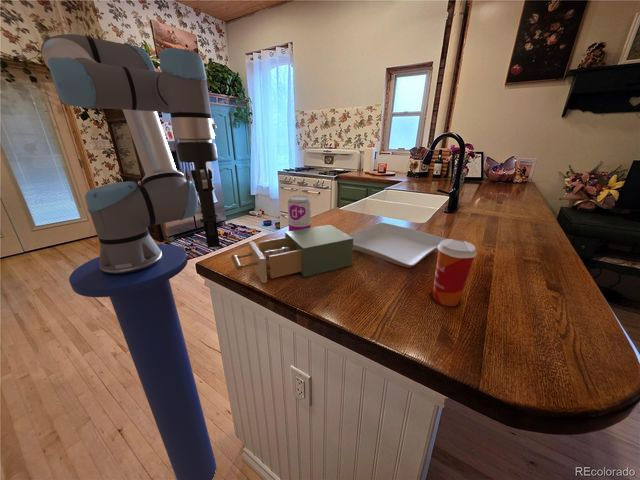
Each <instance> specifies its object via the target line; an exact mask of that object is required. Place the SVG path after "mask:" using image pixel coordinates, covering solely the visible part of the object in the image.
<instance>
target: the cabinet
mask: <svg viewBox="0 0 640 480" xmlns="http://www.w3.org/2000/svg"><path fill="white" fill-rule="evenodd" d="M348 235H349V234H346V233H345V232H343V231H341V230H340V229H338V228H336V227H335V226H333V225H331V224H326V225H318V226H311V228H306V229H300V230H294V231H289V230H288V231H285V232H284V237H289V238H290V239H291V240H292V241H293V242H294V243H295V244H296V245H297V246H298V247H299V248H300V249H302V267H303V271H301V272H299V273H300V275H301V276H302V277H303V278H307V277H311V276H314V275H319V274H322V273H326V272H329V271H333V270H338V269H342V268H346V267H350V266H352V265H353V250H354V249H353V238H352V237H350V236H348Z"/></svg>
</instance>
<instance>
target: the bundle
mask: <svg viewBox="0 0 640 480" xmlns="http://www.w3.org/2000/svg"><path fill="white" fill-rule="evenodd" d="M285 252H290V248H289V247H286V248H284V247H282V248H281V249H276V250H268V251H265V252H264V257H265V261H266V267H267V269H270V264H269V256H270V255H275V254H280V253H285Z"/></svg>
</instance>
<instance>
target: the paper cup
mask: <svg viewBox="0 0 640 480" xmlns="http://www.w3.org/2000/svg"><path fill="white" fill-rule="evenodd" d="M437 248H438V249H437V250H438V251H437V259H436V265H435V273H434V280H433V281H434V282H433V289H432V299H433V300H434V301H435V302H436V303H438V304H440V305H442V306H446V307H455V306H457V305H459V302H460V300H461V297H462V294H463V291H464V288H465V285H466V282H467V280H468V276H469V273H470V270H471V268H472V264H473V262H474V259H475V257H477V255H478V254H477V249H476V246H475V245H474V244H473V243H471V242H469V241H466V240H465V241H463V240H460V239H454V238H446V239H445V240H442V241H441V242H440V244H439V245H438V246H437Z"/></svg>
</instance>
